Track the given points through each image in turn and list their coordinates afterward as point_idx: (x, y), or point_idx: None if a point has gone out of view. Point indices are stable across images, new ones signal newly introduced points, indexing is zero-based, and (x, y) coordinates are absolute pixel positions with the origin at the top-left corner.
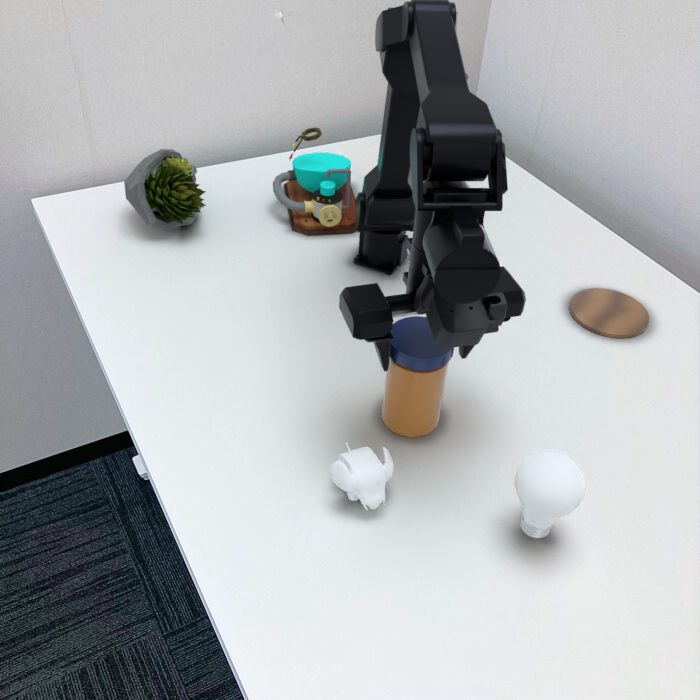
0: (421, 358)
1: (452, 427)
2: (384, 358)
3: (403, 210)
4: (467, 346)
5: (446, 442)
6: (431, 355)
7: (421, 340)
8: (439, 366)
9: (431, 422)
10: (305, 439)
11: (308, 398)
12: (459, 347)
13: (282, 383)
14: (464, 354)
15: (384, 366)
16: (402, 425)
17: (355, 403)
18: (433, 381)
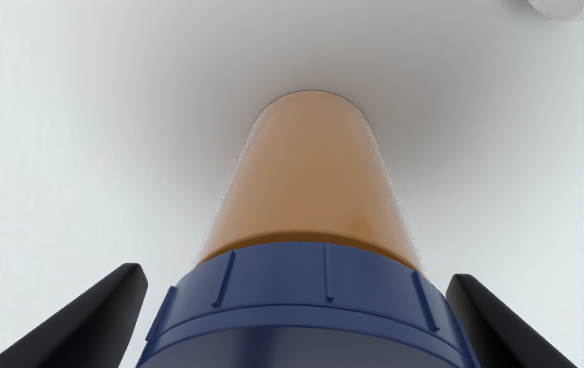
0: (387, 336)
1: (225, 100)
2: (543, 354)
3: None
4: (81, 323)
5: (253, 56)
6: (305, 341)
7: None
8: (255, 252)
9: (281, 107)
10: (565, 143)
11: (484, 236)
12: (136, 310)
13: (505, 272)
14: (118, 281)
15: (494, 300)
16: (357, 116)
17: (404, 207)
18: (283, 192)
